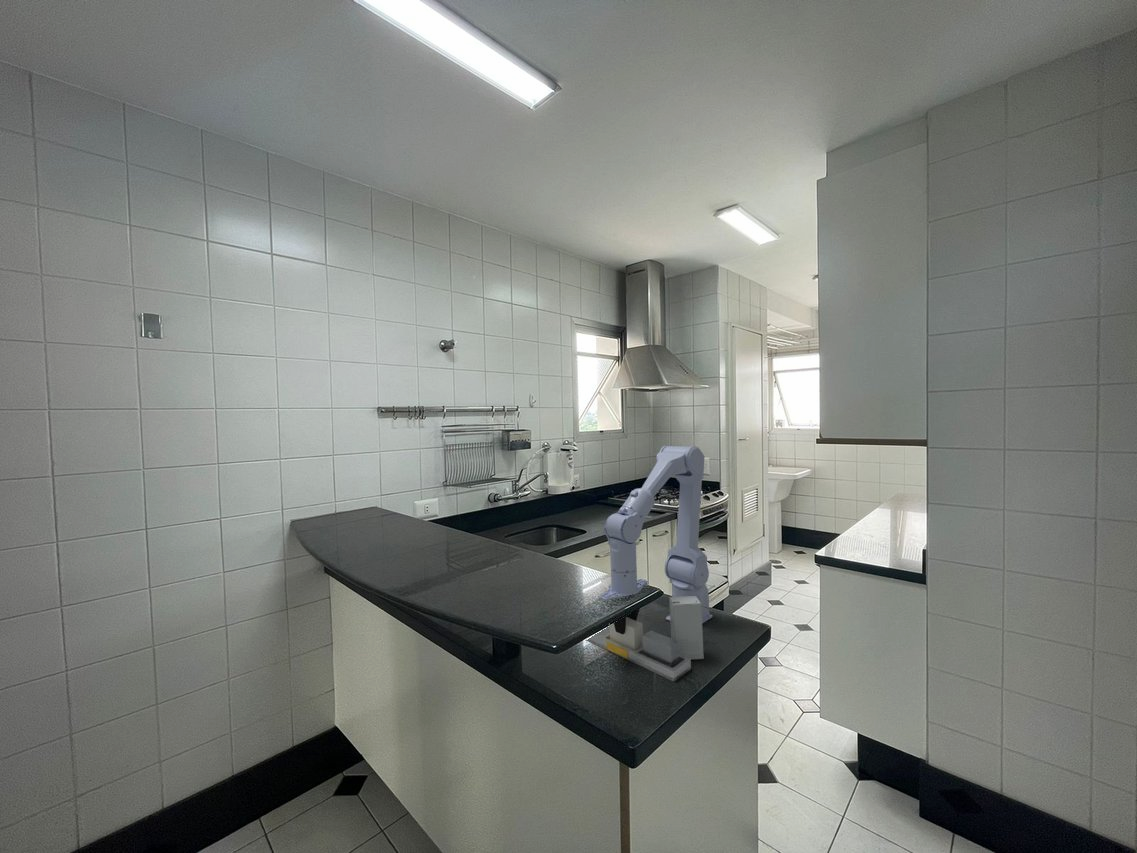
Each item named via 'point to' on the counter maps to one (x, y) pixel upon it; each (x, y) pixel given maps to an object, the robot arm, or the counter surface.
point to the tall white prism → (628, 635)
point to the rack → (649, 653)
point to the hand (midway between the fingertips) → (625, 629)
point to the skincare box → (687, 625)
